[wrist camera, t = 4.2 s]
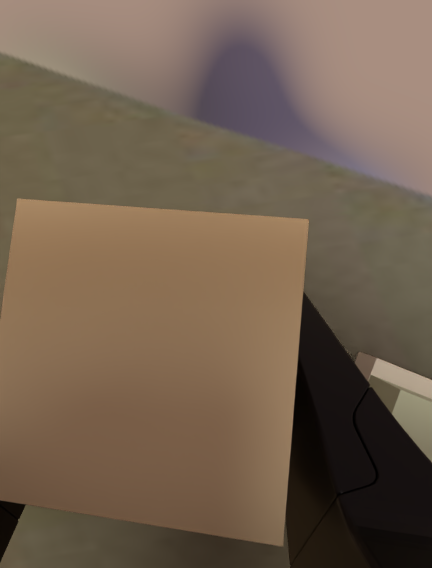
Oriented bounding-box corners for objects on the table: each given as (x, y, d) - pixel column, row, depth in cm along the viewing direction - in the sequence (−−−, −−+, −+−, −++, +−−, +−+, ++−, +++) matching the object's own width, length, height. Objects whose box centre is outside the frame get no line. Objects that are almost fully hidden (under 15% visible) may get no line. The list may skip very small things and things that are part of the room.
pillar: (257, 383, 15) (282, 546, 5) (158, 371, 15) (-26, 495, 5) (266, 282, 15) (308, 219, 5) (169, 273, 16) (17, 198, 5)
